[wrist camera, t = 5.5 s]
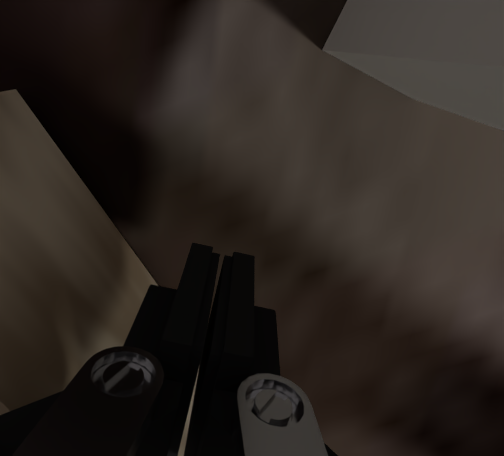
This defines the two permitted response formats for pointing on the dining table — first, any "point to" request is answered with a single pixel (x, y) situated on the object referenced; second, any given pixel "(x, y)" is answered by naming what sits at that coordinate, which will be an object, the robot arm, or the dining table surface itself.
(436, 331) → the dining table surface
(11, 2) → the dining table surface
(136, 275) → the gate
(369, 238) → the dining table surface
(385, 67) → the wall frame
